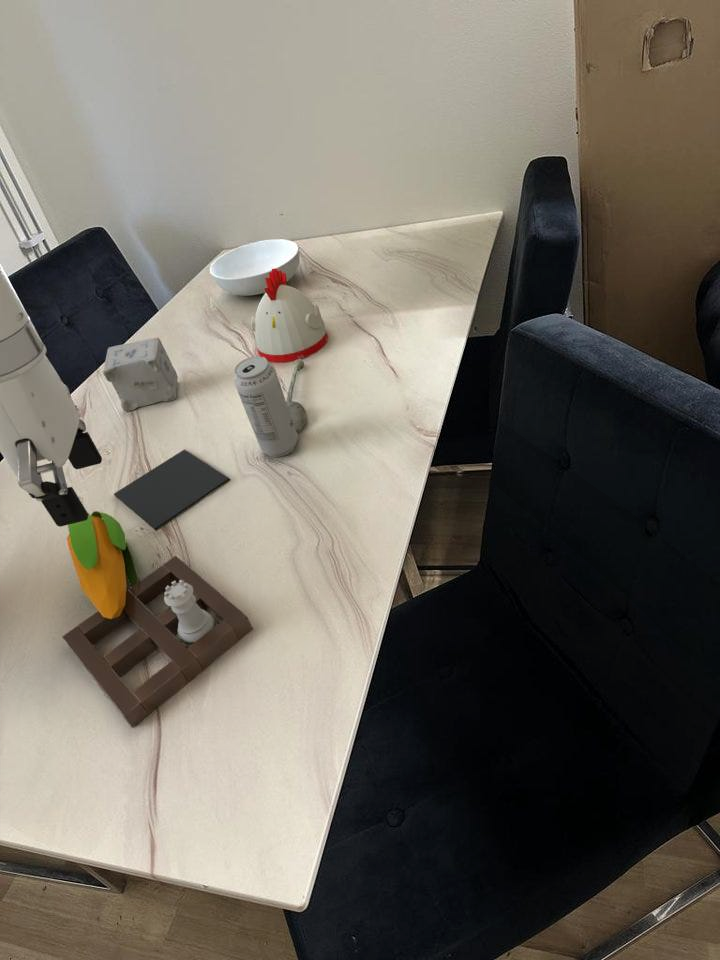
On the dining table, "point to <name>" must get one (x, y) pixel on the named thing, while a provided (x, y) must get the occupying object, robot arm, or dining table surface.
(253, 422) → the energy drink can
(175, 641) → the window frame
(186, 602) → the rook chess piece
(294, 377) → the soupspoon
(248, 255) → the serving bowl
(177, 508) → the coaster
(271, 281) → the kitchen timer
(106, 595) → the corn
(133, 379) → the grey block
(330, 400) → the dining table surface
